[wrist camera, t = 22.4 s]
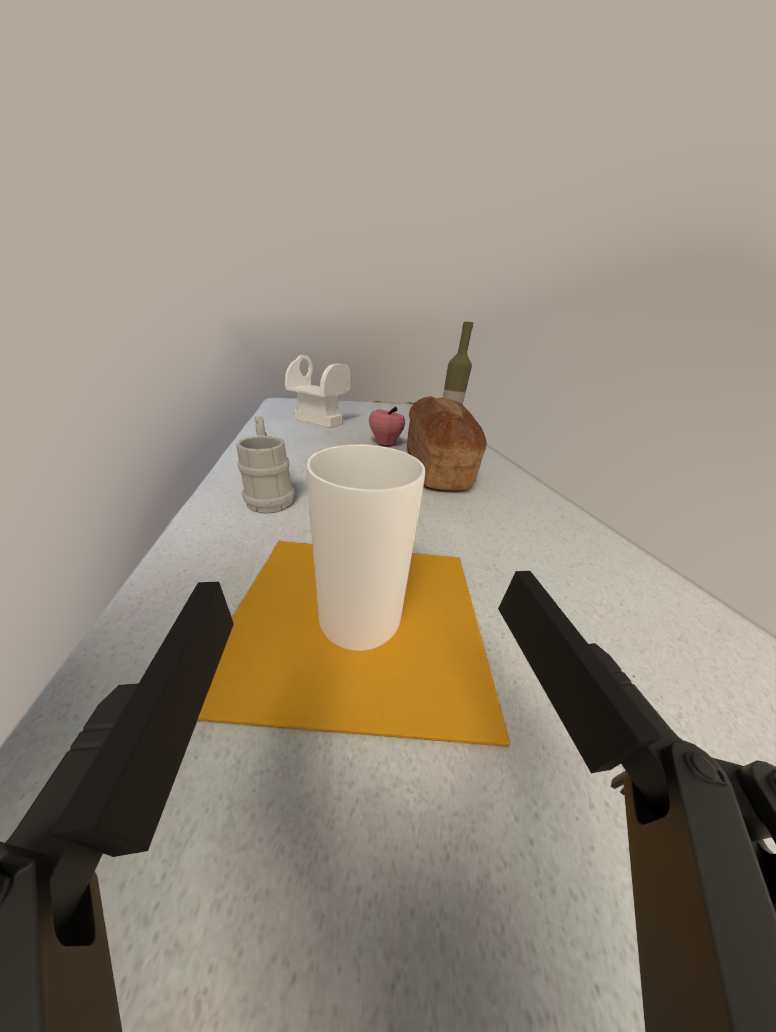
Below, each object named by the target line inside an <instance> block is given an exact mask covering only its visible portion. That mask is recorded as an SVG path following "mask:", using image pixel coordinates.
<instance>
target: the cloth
mask: <svg viewBox="0 0 776 1032" xmlns="http://www.w3.org/2000/svg"><path fill="white" fill-rule="evenodd" d="M232 620H233V623H234V625H233V628H232V631H231V633H230V636H229V638H228V641H227V644H226V646H225V649H224V652H223V654H222V657H221V660H220V662H219V665H218V667H217V670H216V673H215V675H214V678H213V681H212V683H211V686H210V688H209V691H208V694H207V696H206V699H205V702H204V704H203V707H202V710H201V712H200V715H199V717H198V720H197V721H208V722H220V723H232V724H244V725H256V726H268V727H280V728H292V729H304V730H316V731H328V732H340V733H352V734H364V735H376V736H388V737H400V738H412V739H424V740H436V741H448V742H460V743H472V744H484V745H496V746H508V747H509V746H510V741H509V738H508V734H507V730H506V727H505V723H504V719H503V716H502V712H501V708H500V705H499V701H498V697H497V694H496V690H495V686H494V683H493V679H492V675H491V671H490V668H489V664H488V660H487V657H486V653H485V649H484V646H483V642H482V638H481V635H480V631H479V627H478V624H477V620H476V616H475V613H474V609H473V605H472V602H471V598H470V594H469V591H468V587H467V583H466V580H465V576H464V572H463V569H462V565H461V561H460V558H459V557H449V556H438V555H427V554H416V553H412V556H411V562H410V568H409V573H408V579H407V585H406V591H405V597H404V603H403V609H402V615H401V620H400V624H399V627H398V629H397V631H396V633H395V634H394V635H393V636H392V638H391V639H389V640H388V641H387V642H386V643H384V644H383V645H381V646H379V647H376V648H373V649H370V650H364V651H354V650H348V649H345V648H342V647H340V646H337V645H336V644H334V643H333V642H331V641H330V640H329V639H328V638H327V637H326V636H325V634H324V633H323V631H322V629H321V626H320V623H319V614H318V603H317V591H316V579H315V567H314V555H313V544H307V543H296V542H285V541H279V542H278V543H277V545H276V547H275V548H274V550H273V552H272V553H271V555H270V556H269V558H268V560H267V561H266V563H265V565H264V566H263V568H262V569H261V571H260V573H259V574H258V576H257V578H256V579H255V581H254V583H253V584H252V586H251V587H250V589H249V591H248V592H247V594H246V596H245V597H244V599H243V600H242V602H241V604H240V605H239V607H238V609H237V610H236V612H235V614H234V615H233V617H232Z"/></svg>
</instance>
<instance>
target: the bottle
mask: <svg viewBox="0 0 776 1032" xmlns="http://www.w3.org/2000/svg"><path fill="white" fill-rule="evenodd" d="M472 328H473V322H464V324H463V328H462V334H461V340H460V345H459V350H458V353H457V354H456V355H455V356H454V358H452V359H451V361H449V364H448V369H447V375H446V381H445V387H444V393H443V398H445V399H450V400H453V401H456V402H460V403H461V404H462V405H463V401H464V397H465V393H466V388H467V384H468V380H469V376H470V372H471V367H472V364H471V362H470V360H469V358H468V356H467V350H468V345H469V340H470V335H471V331H472Z"/></svg>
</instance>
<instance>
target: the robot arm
mask: <svg viewBox="0 0 776 1032" xmlns="http://www.w3.org/2000/svg"><path fill="white" fill-rule="evenodd" d="M498 609H499V611H500V613H501V615H502V616H503V618H504V620H505V622H506V624H507V625H508V627H509V629H510V631H511V632H512V634H513V636H514V638H515V639H516V641H517V643H518V645H519V647H520V648H521V650H522V652H523V654H524V655H525V657H526V659H527V661H528V662H529V664H530V666H531V668H532V669H533V671H534V673H535V675H536V677H537V678H538V680H539V682H540V684H541V685H542V687H543V689H544V691H545V692H546V694H547V696H548V698H549V700H550V701H551V703H552V705H553V707H554V708H555V710H556V712H557V714H558V715H559V717H560V719H561V721H562V723H563V724H564V726H565V728H566V730H567V731H568V733H569V735H570V737H571V738H572V740H573V742H574V744H575V746H576V747H577V749H578V751H579V753H580V754H581V756H582V758H583V760H584V761H585V763H586V765H587V767H588V768H589V770H590V772H591V773H596V772H601V771H607V770H611V769H613V768H615V767H616V766H618V765H619V764H622V766H623V767H624V769H625V770H626V771H624V772H622V773H621V774H619V775H617V776H616V777H615V778H614V779H612V782H611V787H612V788H614V789H616V788H618V787H619V786H621V785H623V784H624V788H622V790H621V791H620V793H621V794H623V795H625V805H626V817H627V828H628V839H629V851H630V862H631V873H632V885H633V896H634V907H635V919H636V930H637V941H638V953H639V964H640V975H641V987H642V998H643V1009H644V1021H645V1032H776V854H774V853H773V852H772V851H771V850H770V849H769V848H768V847H767V845H766V844H765V842H764V841H763V839H766V838H770V837H772V838H773V840H774V842H775V844H776V767H775V766H773V765H771V764H769V763H767V762H763V761H755V762H752V763H750V764H748V765H745V766H741V765H738V764H734V763H730V762H727V761H723V760H719V759H715V758H712V757H710V756H709V755H708V754H707V753H706V752H705V751H703V750H702V749H700V748H699V747H697V746H696V745H694V744H692V743H689V742H686V741H683V740H682V739H680V738H679V737H678V736H677V735H676V734H675V733H674V732H673V730H672V729H671V728H670V727H669V726H668V725H667V724H666V722H665V721H664V720H663V719H662V718H661V716H660V715H659V714H658V713H657V711H656V710H655V709H654V708H653V707H652V705H651V704H650V703H649V702H648V701H647V699H646V698H645V697H644V696H643V695H642V693H641V692H640V691H639V690H638V689H637V687H636V686H635V685H634V684H632V683H631V680H630V679H629V678H628V677H627V675H626V674H625V673H624V672H622V671H621V670H622V669H621V668H620V667H619V666H618V665H617V663H616V662H615V661H614V660H613V659H612V657H611V656H610V655H609V654H608V653H606V652H605V651H604V650H603V649H601V648H600V647H599V646H598V645H596V644H595V643H593V644H588V643H587V642H586V641H585V639H584V638H583V637H582V636H581V634H580V633H579V632H578V631H577V629H576V628H575V627H574V625H573V624H572V623H571V622H570V620H569V619H568V618H567V617H566V615H565V614H564V613H563V612H562V610H561V609H560V608H559V607H558V605H557V604H556V603H555V602H554V600H553V599H552V598H551V596H550V595H549V594H548V593H547V591H546V590H545V589H544V588H543V586H542V585H541V584H540V583H539V581H538V580H537V579H536V578H535V576H534V575H533V574H532V573H531V571H516V572H515V574H514V576H513V578H512V580H511V583H510V585H509V587H508V589H507V591H506V593H505V595H504V597H503V600H502V602H501V604H500V606H499V608H498ZM233 625H234V623H233V620H232V617H231V614H230V612H229V609H228V606H227V603H226V600H225V597H224V594H223V591H222V589H221V586H220V583H219V582H198V584H197V585H196V587H195V589H194V590H193V592H192V594H191V596H190V597H189V599H188V601H187V602H186V604H185V606H184V607H183V609H182V611H181V612H180V614H179V616H178V618H177V619H176V621H175V623H174V624H173V626H172V628H171V629H170V631H169V633H168V635H167V636H166V638H165V640H164V641H163V643H162V645H161V646H160V648H159V650H158V652H157V653H156V655H155V657H154V658H153V660H152V662H151V663H150V665H149V667H148V669H147V670H146V672H145V674H144V675H143V677H142V679H141V680H140V682H139V683H138V684H126V685H118V686H117V687H116V688H115V689H114V690H113V691H112V692H111V693H110V694H109V695H108V696H107V697H106V698H105V699H104V700H103V701H102V702H101V703H100V704H99V705H98V706H97V708H96V709H95V711H94V712H93V714H92V715H91V717H90V718H89V720H88V721H87V723H86V724H85V726H84V727H83V728H84V729H83V731H82V732H80V733H79V735H78V736H77V738H76V739H75V741H74V742H73V744H72V745H71V749H70V751H68V752H67V753H66V754H65V756H64V757H63V759H62V760H61V762H60V763H59V765H58V766H57V768H56V769H55V771H54V772H53V774H52V775H51V777H50V778H49V780H48V781H47V783H46V784H45V786H44V787H43V789H42V790H41V792H40V793H39V795H38V796H37V798H36V800H35V801H34V803H33V804H32V806H31V807H30V809H29V810H28V812H27V813H26V815H25V816H24V818H23V819H22V821H21V822H20V824H19V825H18V827H17V828H16V830H15V831H14V832H13V834H12V835H11V836H10V838H9V839H8V840H7V842H6V843H3V842H0V1032H122V1027H121V1020H120V1014H119V1008H118V1002H117V996H116V989H115V983H114V977H113V971H112V965H111V958H110V952H109V946H108V940H107V933H106V927H105V921H104V915H103V909H102V902H101V896H100V890H99V884H98V878H97V875H96V873H95V869H96V867H97V865H98V863H99V861H100V858H101V856H102V854H103V853H104V854H107V855H109V856H112V857H116V856H122V855H127V854H133V853H139V852H145V851H148V849H149V846H150V844H151V841H152V839H153V836H154V833H155V831H156V828H157V825H158V823H159V820H160V817H161V815H162V812H163V810H164V807H165V804H166V802H167V799H168V796H169V794H170V791H171V789H172V786H173V783H174V781H175V778H176V775H177V773H178V770H179V767H180V765H181V762H182V760H183V757H184V754H185V752H186V749H187V746H188V744H189V741H190V739H191V736H192V733H193V731H194V728H195V725H196V723H197V720H198V717H199V715H200V712H201V710H202V707H203V704H204V702H205V699H206V696H207V694H208V691H209V688H210V686H211V683H212V681H213V678H214V675H215V673H216V670H217V667H218V665H219V662H220V660H221V657H222V654H223V652H224V649H225V646H226V644H227V641H228V638H229V636H230V633H231V631H232V628H233Z"/></svg>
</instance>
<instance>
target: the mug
mask: <svg viewBox="0 0 776 1032" xmlns="http://www.w3.org/2000/svg"><path fill="white" fill-rule="evenodd" d="M255 422H256V432H257V436H256V437H248V438H245V439H242V440H240V441H238V442H237V444H236V446H237V452H238V457H239V461H238V468H239V471H240V472H241V474H242V480H243V486H244V490H243V493H242V495H243V499H244V501H245V502H246V503H247V506H248V507H249V508H250V509H251V510H253V511H258V512H260V513H272V512H278V511H281V510H284V509H285V508H286V507H288V506H290V505H291V504H292V503H293V496H294V487H293V486H292V484H291V481H290V475H289V469H288V468H289V459H288V458H287V457H286V451H285V445H284V441H283V440H281V439H279V438H276V437H271V436H267V434H266V432H265V428H264V421H263V417H255Z"/></svg>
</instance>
